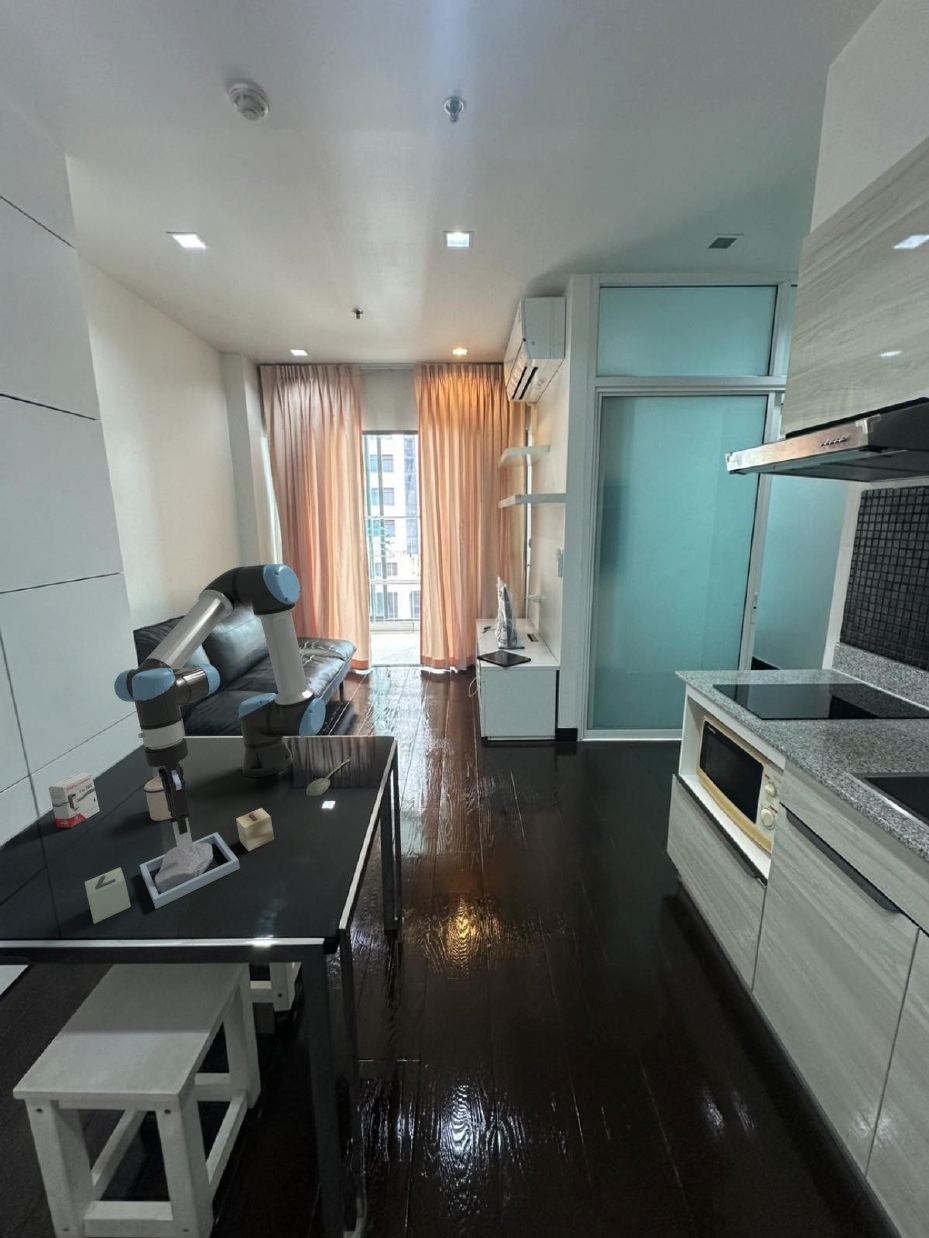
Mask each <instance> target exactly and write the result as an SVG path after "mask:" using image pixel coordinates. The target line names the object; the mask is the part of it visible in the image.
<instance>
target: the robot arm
mask: <svg viewBox="0 0 929 1238" xmlns="http://www.w3.org/2000/svg"><path fill="white" fill-rule="evenodd" d="M300 585H301V584H300V581H299V578H298V576H297V575H296V573H295V572H294V570H293V569H292V568H291V567H289V566H288V565H286V564H283V563H267V564H265V563H264V564H256V565H248V566H237V567H233V568H231V569H229V570H226V571H224V572H223V573H221V574H220V575H219V576H217V577H216V578H214V579H213V580H212V581H211V582H210V583H209V584H207V585H206V586H205V588H203V590H201V592H200V593H199V595H198V599H197V600H198V601H197V602H196V603H195V604H194V605H193V607H192V608H191V609H190V610H189V611H188V612H187V613H186V614H185V616H184V615H183V617H182V619H181V620H179V622H178V623H177V624H176V625H175V626H174V627H173V629H171V630H170V632H169V633H167V635H166V636H165V637H164V638H163V640H162V641H160V643H159V644H158V645H157V646H156V647H155V649H153V650H152V652H151V653H150V654H149V655H148V656H147V657H146V658H145V660H144V661H143V662H142V663H141V664H140V665H139V666H138V667H137V668H131V669H128V670H124V671H122V672H121V673H119V674H118V676H117V677H116V679H115V681H114V685H113V686H114V692H115V695H116V696H117V697H118V698H119V699H120V700H121V701H124V702H128V703H134V705H135V709H136V714H137V718H138V723H139V728H140V731H141V732H140V733H138V734H137V736H138V738H139V739H142V742H143V746H144V747H145V748H144V755H145V758H146V764H147V765H148V766H149V767H151V768H158V770H157V771H158V772H157V774H158V773H159V776H160V778H161V781H162V786H163V788H164V792H165V796H166V801H167V805H168V811H169V812H170V813H171V814H170V816H171V817H173V818H170V819H169V823H170V824H172V827H173V832H174V833H173V834H174V837H175V844H176V847H178V849H180V848H183V847H185V846H187V845H190V844H192V842H193V839H192V834H191V829H190V823H189V817H190V813H189V806H188V798H187V791H186V790H187V789H186V780H185V778H184V768H183V766H181V765H180V763H179V762H181V761H182V760H184V759H186V757H187V756H188V754H189V751H188V744H187V739H185V738H184V737H185V736H186V731H185V726H184V722H183V718H182V712H181V708H182V707H185V706H187V705H189V704H191V703H194V702H196V701H198V700H201V699H202V698H206V697H208V696H209V695H210V694H211V695H212V693H215V691H217V689H218V688H219V687H220V683H221V677H220V674H219V673H220V672H219V671H218V670H217V668H216V667H214V666H213V665H211V664H210V663H205V662H204V663H198V664H193V665H192V666H189V667H184V666H185V664H186V663H187V662H188V661H189V660H190V659H191V658H192V656H193V654H194V653H196V651H197V650H198V649H199V647H201V645H202V644H203V642H204V641H205V640H206V639H207V638H208V636H209V635H210V634H211V633H212V631H214V629H215V628H216V626H217V625H218V624H220V622H221V621H222V619H223V618H227V617H229V616H230V615H232V613H233V612H234V611H235V610H237V609H240V608H244V607H251V608H252V612H253V615H254V616H255V617H257V618H258V619H260V621H261V625H262V629H263V634H264V637H265V641H266V646H267V651H268V654H269V659H270V664H271V667H272V673H273V676H274V680H275V684H276V688H277V692H278V694H276V693H274V692H268V693H264V694H263V693H262V694H259V695H255V696H253V697H250V698H248V699H246V700H244V701H242V702H241V703H240V704H239V705H238V718H239V724H240V729H241V736H242V738H243V739H242V740H243V745H244V751H243V755H242V756H243V757H242V761H241V771H242V774H243V775H244V776H246V777H248V778H249V777H250V778H258V777H267V776H270V775H273V774H277V773H280V772H281V771H283V770H285V769H287V768H288V767H289V766H290V765H292V763H293V754H292V752H291V750H290V749H289V746H288V744H287V743H286V741H285V739H284V737H288V738H291V737H292V738H294V737H295V738H297V737H299V738H305V737H313V736H315V735H317V734H318V733H319V732H320V731H321V729H322V727H323V725H324V722H325V717H326V704H325V701H324V700H323V699H322V698H319V697H316V696H315V691H314V689H313V688H312V687H310V686H308V683H307V678H306V674H305V668H304V665H303V664H304V663H303V661H302V655H301V652H300V647H299V642H298V637H297V632H296V628H295V623H294V619H293V618H294V617H293V614H292V613H293V611H294V610H295V608H296V602H298V600H299V598H300V595H301V593H300V592H301V586H300Z"/></svg>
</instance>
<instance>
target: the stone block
mask: <svg viewBox="0 0 929 1238" xmlns="http://www.w3.org/2000/svg"><path fill="white" fill-rule="evenodd" d="M213 859H214V854H213V846H212V845H210V844H208V843H192V844H190V845H187V846H185V847H183V848H180V849H178V847H177V846H175V847H173V848H171V849H169V850H168V851H167V852H166V853H165V856H164V859H163V861H162V865H161V867H160V868H159V871H158V873H156V874H155V876H154V885H155V887H156V890H157V892H158V894H162V893H164V892H166V891H168V890H170V889H172V888H174V887H177V886H179V885H181V884H183V883H185V882H187V881H189V880H191V879H194V878H196V877H198V876H200V875H202V874H204V873H205V871H207V869H208V867H210V864H211V863H212V862H213Z"/></svg>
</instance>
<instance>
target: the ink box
mask: <svg viewBox="0 0 929 1238" xmlns="http://www.w3.org/2000/svg"><path fill="white" fill-rule="evenodd" d="M48 793H49V797H50V802H51V806H52V810H53V813H54V819H55V823H56V826H57V828H65V829H66V828H67V829H69V828H70V829H71V828H74V827H75V826H77V825H79V824H80V823H83V822H84V821H86V820H87V819H89V818H90V817H92V816H94V815H95V814H97V813H99V812H101V811H100V807H99V802H98V797H97V793H96V788H95V784H94V779H93V774H92V772H76V773H73V774H72V775H69V776H67V777H65V778H64V779H61V780H59V781H57V782H55V783H53V784H51V785H50V786H49V787H48Z"/></svg>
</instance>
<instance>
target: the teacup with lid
mask: <svg viewBox="0 0 929 1238" xmlns="http://www.w3.org/2000/svg"><path fill="white" fill-rule="evenodd" d="M143 791H144V792H145V797H146V800H147V801H146V802H147V806H148V807H147V808H148V810H149V815H150V819H151V820H152V821H159V822H160V821H166V820H168V819H169V820H170V819H172V818H173V817H171V816H170V814H171V813H170V812H169V811H168V805H167V801H166V796H165V792H164V788H163V786H162V781H161V778H160V776H159V773H158V772H157V774H156V776H155V777H154V778H153V779H150V780H149V781H147V782H146V783H145V785H144V787H143Z"/></svg>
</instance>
